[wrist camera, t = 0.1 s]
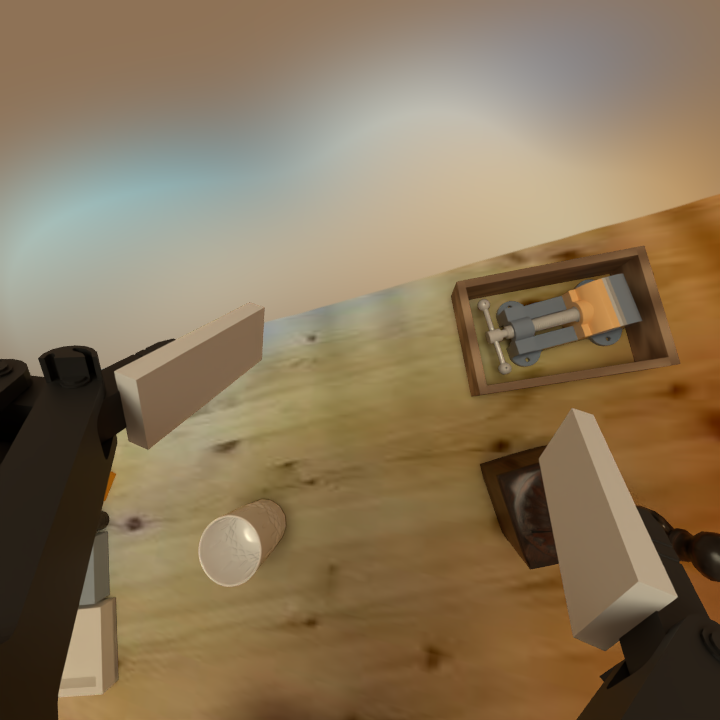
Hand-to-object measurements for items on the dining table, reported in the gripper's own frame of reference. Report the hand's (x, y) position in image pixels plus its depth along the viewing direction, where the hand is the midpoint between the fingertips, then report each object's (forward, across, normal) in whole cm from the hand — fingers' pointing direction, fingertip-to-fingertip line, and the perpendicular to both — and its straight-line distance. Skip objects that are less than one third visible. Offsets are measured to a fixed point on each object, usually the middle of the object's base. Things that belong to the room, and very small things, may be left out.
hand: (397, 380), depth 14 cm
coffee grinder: (+27, -22, +25) cm, 42 cm away
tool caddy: (+38, -15, +8) cm, 42 cm away
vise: (+39, -15, +8) cm, 43 cm away
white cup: (+15, +14, +40) cm, 45 cm away
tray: (0, +34, +61) cm, 70 cm away
